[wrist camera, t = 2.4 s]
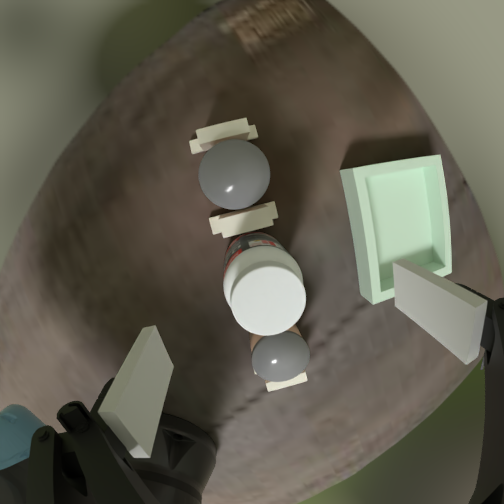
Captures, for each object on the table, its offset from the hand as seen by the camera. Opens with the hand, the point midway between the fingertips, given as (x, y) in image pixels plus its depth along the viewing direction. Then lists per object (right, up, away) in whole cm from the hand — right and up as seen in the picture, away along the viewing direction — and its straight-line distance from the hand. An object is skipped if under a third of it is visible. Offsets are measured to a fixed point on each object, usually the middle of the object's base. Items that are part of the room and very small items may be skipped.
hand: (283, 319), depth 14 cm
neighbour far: (+1, -5, +14) cm, 15 cm away
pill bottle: (-1, +3, +13) cm, 13 cm away
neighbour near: (-3, +10, +11) cm, 15 cm away
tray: (+14, +6, +13) cm, 20 cm away
